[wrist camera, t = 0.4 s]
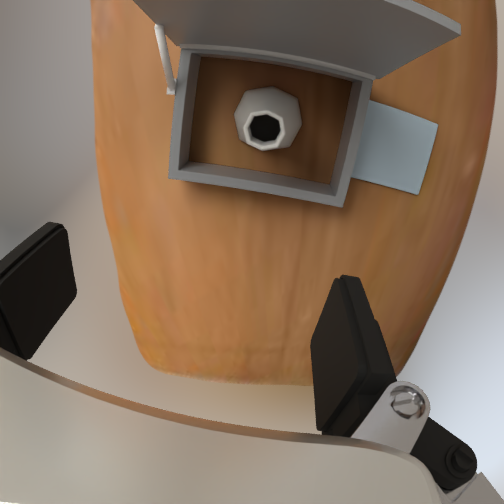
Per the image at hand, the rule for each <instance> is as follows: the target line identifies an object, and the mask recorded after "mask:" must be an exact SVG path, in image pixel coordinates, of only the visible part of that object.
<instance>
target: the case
mask: <svg viewBox="0 0 504 504" xmlns="http://www.w3.org/2000/svg"><path fill="white" fill-rule="evenodd" d="M180 48H181V54H180V61H179V69H178V76H177V84H176V92H175V101H174V111H173V121H172V132H171V144H170V158H169V175H168V179H176V180H184V181H191V182H199V183H206V184H213V185H219V186H226V187H232V188H239V189H245V190H251V191H257V192H263V193H269V194H274V195H280V196H286V197H291V198H296V199H302V200H307V201H312V202H317V203H322V204H327V205H332V206H337V207H342V208H343V204H344V201H345V197H346V194H347V190H348V186H349V182H350V179H351V175H352V171H353V167H354V163H355V159H356V155H357V151H358V147H359V143H360V139H361V135H362V130H363V126H364V122H365V117H366V113H367V108H368V103H369V99H370V94H371V89H372V84H373V80H375V79H376V76H374V75H371V74H367V73H364V72H361V71H357V70H354V69H350V68H347V67H343V66H339V65H335V64H331V63H327V62H323V61H319V60H314V59H309V58H305V57H300V56H294V55H289V54H283V53H277V52H271V51H264V50H257V49H249V48H240V47H230V46H218V45H201V44H180ZM201 57H215V58H226V59H236V60H245V61H253V62H261V63H267V64H274V65H280V66H286V67H291V68H296V69H301V70H306V71H311V72H316V73H320V74H324V75H329V76H333V77H337V78H341V79H344V80H348V81H352V87H351V92H350V97H349V102H348V107H347V112H346V116H345V121H344V126H343V130H342V135H341V139H340V143H339V148H338V152H337V156H336V161H335V165H334V169H333V173H332V177H331V181H330V185H329V184H324V183H320V182H315V181H310V180H305V179H300V178H295V177H289V176H284V175H278V174H273V173H267V172H261V171H255V170H249V169H243V168H236V167H230V166H223V165H216V164H208V163H201V162H193V161H189V151H190V140H191V131H192V121H193V112H194V104H195V96H196V88H197V81H198V73H199V66H200V60H201Z"/></svg>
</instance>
